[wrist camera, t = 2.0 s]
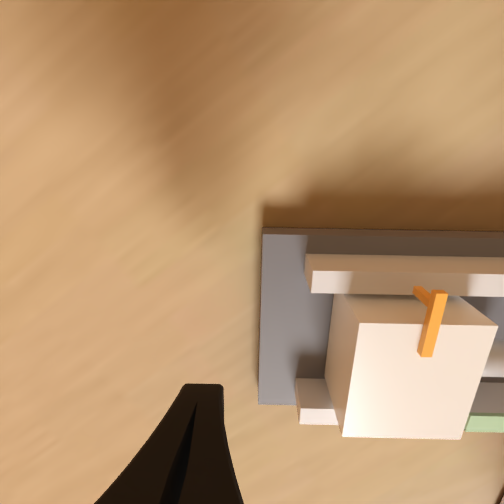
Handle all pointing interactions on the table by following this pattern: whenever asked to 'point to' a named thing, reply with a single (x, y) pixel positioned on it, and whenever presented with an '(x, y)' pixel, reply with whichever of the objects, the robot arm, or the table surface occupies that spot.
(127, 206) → the table surface
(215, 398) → the robot arm
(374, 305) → the gauge carriage
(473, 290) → the gauge base
